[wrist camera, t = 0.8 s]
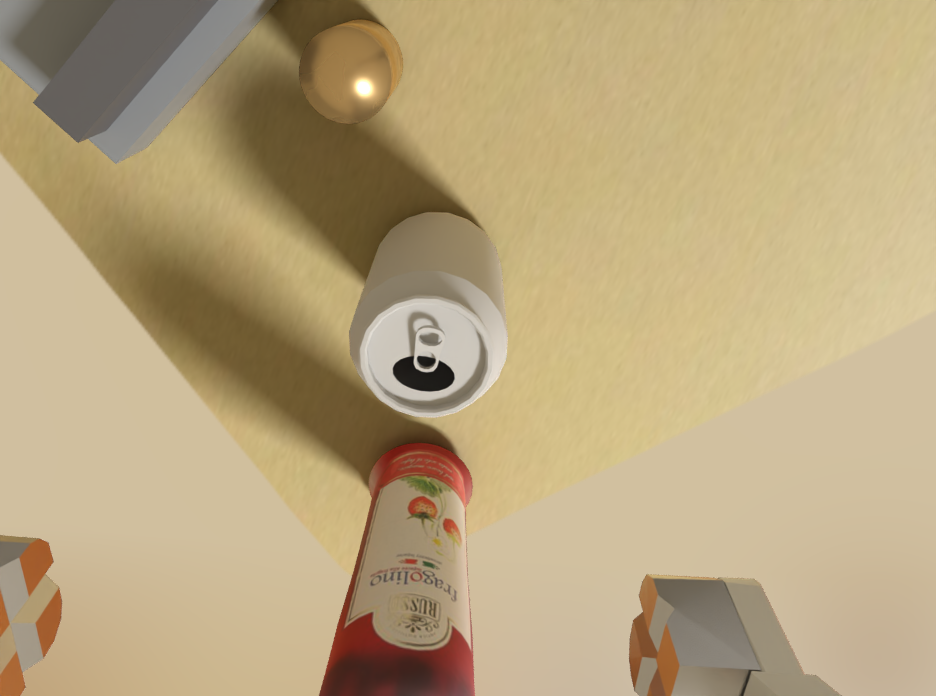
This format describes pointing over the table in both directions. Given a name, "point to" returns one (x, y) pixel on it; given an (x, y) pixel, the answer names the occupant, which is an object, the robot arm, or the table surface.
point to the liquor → (409, 584)
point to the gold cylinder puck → (350, 70)
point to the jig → (120, 60)
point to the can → (431, 317)
